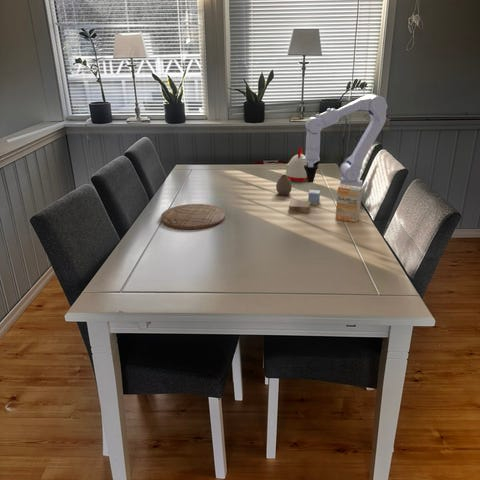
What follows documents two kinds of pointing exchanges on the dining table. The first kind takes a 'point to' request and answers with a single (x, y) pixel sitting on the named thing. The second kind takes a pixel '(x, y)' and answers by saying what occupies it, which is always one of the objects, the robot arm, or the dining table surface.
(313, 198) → the cube
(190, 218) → the trivet
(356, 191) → the supplement box
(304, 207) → the base
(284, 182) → the vase
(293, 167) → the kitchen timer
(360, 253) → the dining table surface
